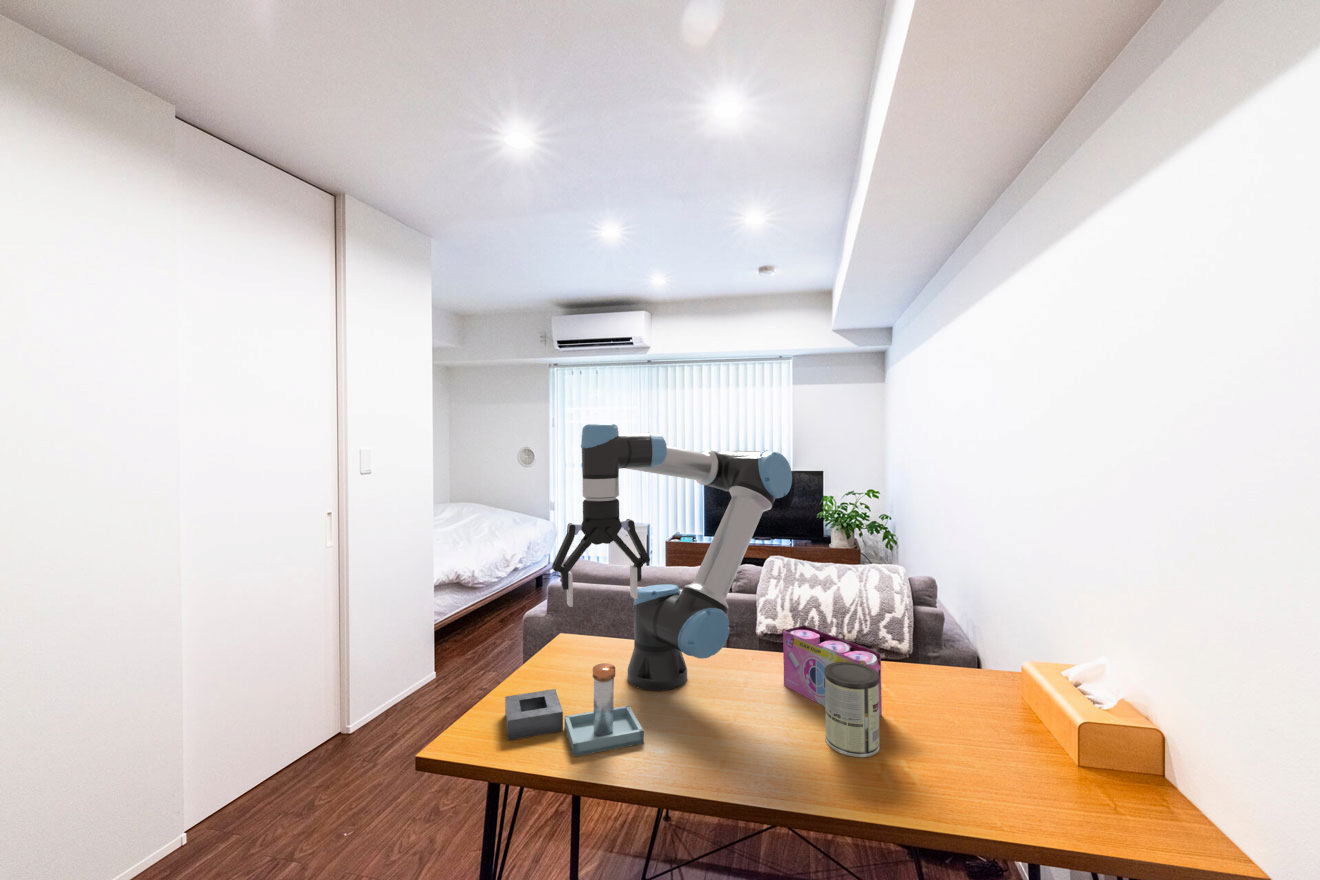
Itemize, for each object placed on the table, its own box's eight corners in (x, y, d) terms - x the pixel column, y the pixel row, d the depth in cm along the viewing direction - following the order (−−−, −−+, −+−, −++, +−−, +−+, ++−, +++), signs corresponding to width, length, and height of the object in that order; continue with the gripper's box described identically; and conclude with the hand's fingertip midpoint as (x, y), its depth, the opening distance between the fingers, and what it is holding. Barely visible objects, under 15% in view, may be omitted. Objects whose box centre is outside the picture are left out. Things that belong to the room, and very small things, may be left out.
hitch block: (555, 706, 123) (555, 688, 123) (562, 730, 113) (562, 711, 113) (505, 714, 120) (505, 696, 120) (508, 740, 110) (507, 720, 110)
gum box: (888, 718, 117) (888, 655, 117) (864, 729, 113) (864, 663, 113) (804, 677, 138) (804, 624, 138) (782, 685, 134) (781, 630, 134)
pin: (611, 723, 114) (612, 662, 114) (617, 735, 110) (617, 671, 109) (589, 727, 113) (590, 665, 112) (594, 739, 108) (595, 674, 108)
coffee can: (825, 725, 115) (825, 658, 115) (878, 734, 111) (878, 665, 111) (823, 752, 105) (823, 679, 105) (881, 762, 101) (880, 686, 101)
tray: (629, 716, 119) (629, 705, 119) (643, 743, 108) (643, 730, 108) (564, 728, 114) (564, 716, 114) (573, 756, 104) (573, 743, 104)
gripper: (651, 493, 121) (653, 589, 121) (537, 499, 112) (539, 602, 112) (663, 497, 113) (665, 598, 114) (542, 503, 105) (544, 613, 105)
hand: (602, 601), depth 113 cm, fingers open, 13 cm apart
